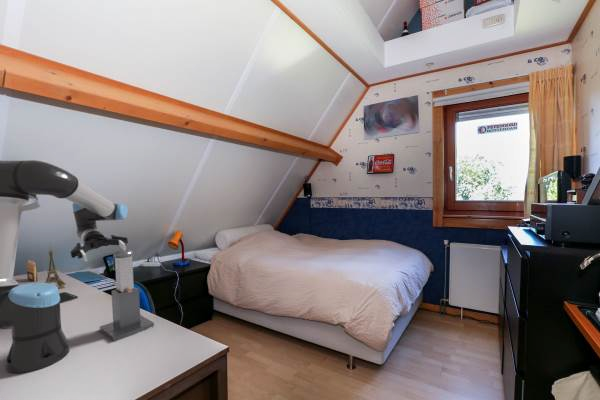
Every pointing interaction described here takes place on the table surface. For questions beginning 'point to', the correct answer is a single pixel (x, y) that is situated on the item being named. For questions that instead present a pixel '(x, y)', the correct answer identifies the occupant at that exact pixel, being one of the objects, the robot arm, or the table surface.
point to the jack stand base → (125, 316)
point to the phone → (66, 297)
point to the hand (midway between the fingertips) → (105, 252)
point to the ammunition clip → (31, 271)
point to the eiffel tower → (56, 278)
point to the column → (124, 270)
